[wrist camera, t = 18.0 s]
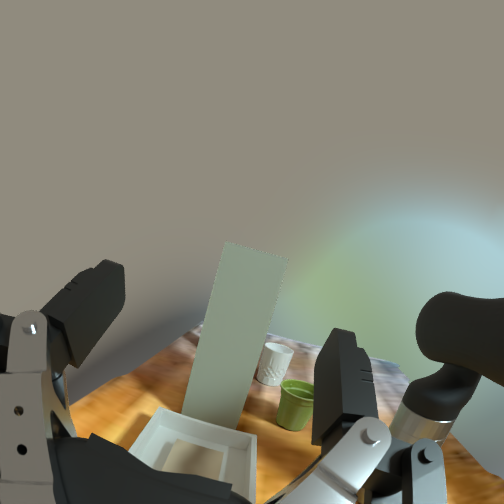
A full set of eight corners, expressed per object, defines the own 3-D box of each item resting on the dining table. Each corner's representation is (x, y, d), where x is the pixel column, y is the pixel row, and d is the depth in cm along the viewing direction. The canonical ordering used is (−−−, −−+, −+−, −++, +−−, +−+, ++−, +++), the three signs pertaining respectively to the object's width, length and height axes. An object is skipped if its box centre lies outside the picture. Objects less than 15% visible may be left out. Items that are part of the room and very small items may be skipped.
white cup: (288, 385, 73) (299, 352, 73) (268, 389, 67) (280, 354, 68) (267, 373, 79) (278, 342, 79) (248, 375, 73) (258, 342, 73)
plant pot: (264, 409, 56) (276, 375, 56) (303, 414, 57) (317, 382, 57) (272, 433, 47) (287, 396, 47) (317, 437, 48) (333, 402, 48)
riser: (241, 388, 64) (279, 259, 65) (234, 432, 44) (288, 258, 45) (200, 376, 65) (235, 246, 65) (180, 416, 45) (225, 241, 45)
